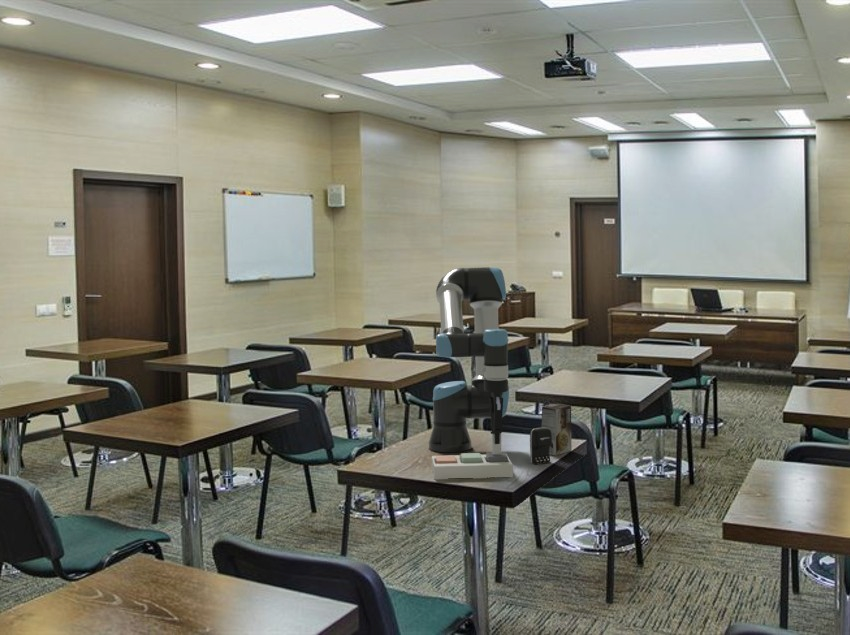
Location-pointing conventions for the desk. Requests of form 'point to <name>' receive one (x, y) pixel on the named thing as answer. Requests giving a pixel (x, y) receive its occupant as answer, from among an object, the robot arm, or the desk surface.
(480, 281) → the robot arm
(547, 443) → the black rounded block
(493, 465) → the keypad
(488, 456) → the key charcoal
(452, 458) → the key terracotta
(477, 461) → the key sage
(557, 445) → the coffee box
